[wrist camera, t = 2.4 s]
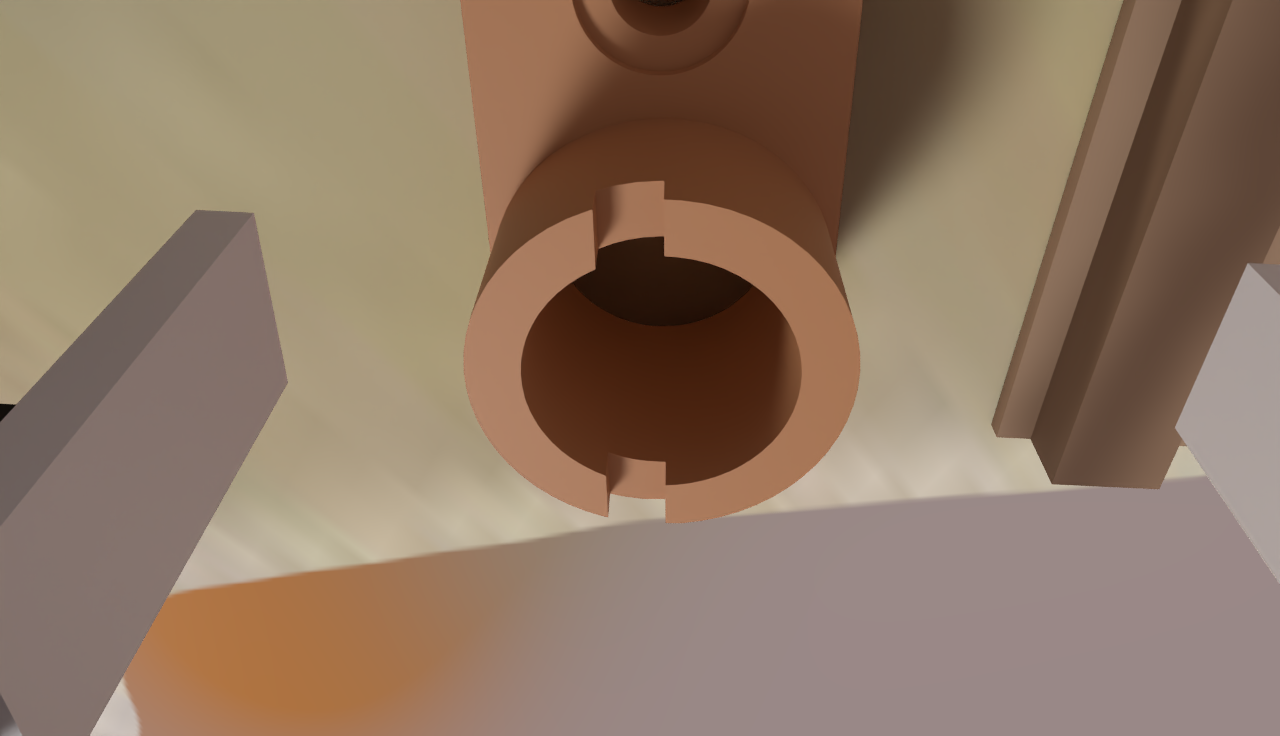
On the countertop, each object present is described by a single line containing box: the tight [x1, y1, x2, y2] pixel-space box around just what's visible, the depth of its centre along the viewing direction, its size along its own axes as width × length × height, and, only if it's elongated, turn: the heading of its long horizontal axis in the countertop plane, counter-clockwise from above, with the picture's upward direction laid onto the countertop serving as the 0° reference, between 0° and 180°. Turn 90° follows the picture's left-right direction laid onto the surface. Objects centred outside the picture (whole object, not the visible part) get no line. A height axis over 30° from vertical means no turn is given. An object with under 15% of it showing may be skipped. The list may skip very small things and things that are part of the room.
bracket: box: [460, 0, 863, 523], centre depth 21 cm, size 18×8×7 cm, turn 1°
